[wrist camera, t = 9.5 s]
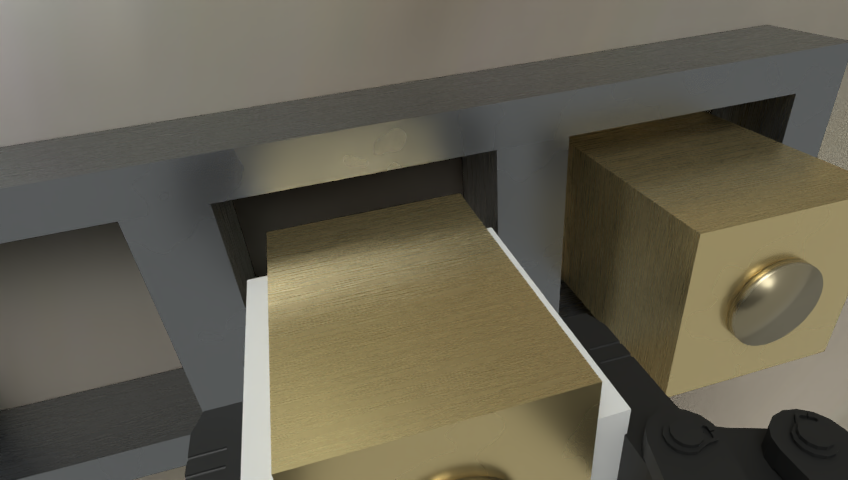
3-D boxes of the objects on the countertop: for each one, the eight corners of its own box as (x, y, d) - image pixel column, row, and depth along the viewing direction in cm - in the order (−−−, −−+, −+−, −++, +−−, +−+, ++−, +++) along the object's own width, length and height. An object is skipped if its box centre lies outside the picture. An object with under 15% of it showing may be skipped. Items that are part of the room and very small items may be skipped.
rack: (-268, 190, 12) (-403, 258, 10) (767, 24, 17) (854, 41, 15) (-44, 451, 17) (-96, 541, 15) (710, 265, 22) (768, 308, 20)
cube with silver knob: (266, 232, 13) (271, 490, 7) (459, 193, 14) (611, 393, 8) (307, 377, 16) (336, 657, 10) (468, 336, 17) (587, 570, 11)
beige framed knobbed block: (549, 129, 17) (709, 240, 11) (686, 103, 18) (903, 193, 12) (544, 258, 20) (671, 405, 14) (664, 230, 21) (832, 357, 15)
